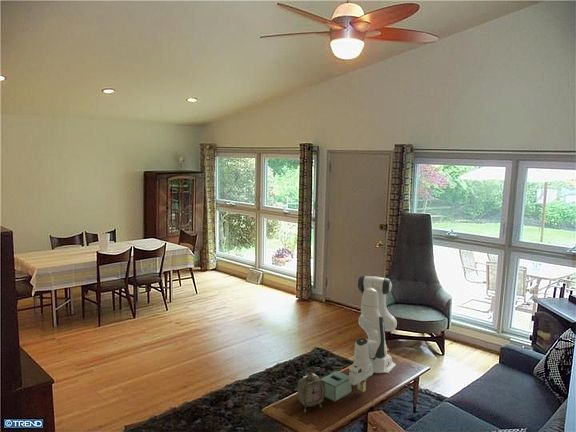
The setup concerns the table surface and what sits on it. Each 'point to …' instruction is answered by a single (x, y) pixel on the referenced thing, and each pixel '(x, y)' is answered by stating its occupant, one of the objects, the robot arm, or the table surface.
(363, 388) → the wooden yellow block
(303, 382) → the tabletop clock
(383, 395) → the table surface
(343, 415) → the table surface
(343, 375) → the coin box
